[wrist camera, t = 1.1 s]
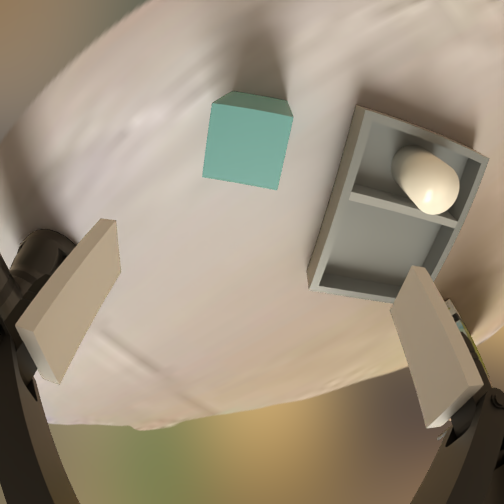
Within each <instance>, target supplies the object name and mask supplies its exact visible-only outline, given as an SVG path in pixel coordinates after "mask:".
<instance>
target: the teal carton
mask: <svg viewBox="0 0 504 504" xmlns="http://www.w3.org/2000/svg"><path fill="white" fill-rule="evenodd" d="M292 122H293V115H292V112H291V109H290V107H289V104H288V102H287V101H286V100H281V99H276V98H271V97H265V96H260V95H254V94H248V93H242V92H235V91H232V92H230V93H228V94H226V95H225V96H223V97H221V98H220V99H218V100H216V101H215V102H213V103H212V108H211V114H210V121H209V128H208V136H207V143H206V151H205V159H204V167H203V175H202V177H205V178H211V179H217V180H223V181H229V182H235V183H241V184H246V185H252V186H257V187H262V188H268V189H273V190H277V189H278V185H279V180H280V176H281V171H282V167H283V162H284V158H285V153H286V149H287V144H288V140H289V135H290V131H291V126H292Z"/></svg>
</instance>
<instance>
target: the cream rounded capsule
mask: <svg viewBox="0 0 504 504" xmlns="http://www.w3.org/2000/svg"><path fill="white" fill-rule="evenodd" d="M391 173H392V176H393V178H394V180H395V181H396V183H397V184H398V185H399V186H400V187H401V188H402V189H403V191H404V192H405V193H406V194H407V195H408V196H409V197H410V199H411V200H412V201H413V202H414V203H415V205H416V206H417V207H418V208H419V209H420V210H421V211H422V212H424V213H427V214H431V215H435V214H440V213H443V212H445V211H446V210H448V209H449V208H450V207H451V206H452V205H453V203H454V202H455V200H456V198H457V196H458V193H459V178H458V176H457V174H456V172H455V171H454V169H453V168H452V167H450V166H449V165H447V164H446V163H445V162H443V161H442V160H440V159H439V158H438V157H436V156H435V155H433V154H432V153H430V152H429V151H428V150H426V149H425V148H423V147H421V146H419V145H407V146H404V147H402V148H401V149H400V150H398V152H397V153H396V154H395V156H394V157H393V160H392V163H391Z"/></svg>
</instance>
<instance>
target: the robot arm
mask: <svg viewBox="0 0 504 504" xmlns="http://www.w3.org/2000/svg"><path fill="white" fill-rule="evenodd" d="M120 273H121V266H120V257H119V248H118V237H117V226H116V220H109V219H100V220H99V221H98V222H97V223H96V224H95V225H94V226H93V228H92V229H91V230H90V231H89V232H88V233H87V234H86V235H85V237H84V238H83V239H82V240H81V241H80V242H79V243H78V245H77V246H76V245H74V244H73V243H72V242H71V241H70V240H69V239H67V238H66V237H64V236H63V235H61V234H59V233H57V232H55V231H51V230H46V229H41V230H36V231H34V232H32V233H31V234H30V235H29V236H28V237H27V238H26V239H25V240H24V241H23V242H22V243H21V245H20V247H19V249H18V252H17V255H16V256H15V258H14V261H13V263H12V265H11V268H10V270H9V269H8V267H7V265H6V263H5V261H4V260H3V258H2V256H1V254H0V484H1V487H2V490H3V493H4V496H5V499H6V502H7V504H80V503H79V501H78V499H77V497H76V495H75V493H74V490H73V488H72V486H71V484H70V482H69V479H68V477H67V474H66V472H65V470H64V467H63V465H62V462H61V460H60V457H59V455H58V452H57V449H56V447H55V444H54V441H53V438H52V435H51V432H50V429H49V426H48V423H47V420H46V417H45V413H44V410H43V406H42V403H41V399H40V396H39V392H38V388H37V384H36V381H35V379H34V377H33V376H34V374H35V372H36V370H37V369H38V371H39V373H40V375H41V376H42V378H43V379H45V380H48V381H50V382H53V383H56V384H59V385H60V383H61V381H62V379H63V377H64V375H65V373H66V371H67V369H68V367H69V365H70V363H71V361H72V359H73V357H74V355H75V353H76V351H77V349H78V347H79V345H80V344H81V342H82V340H83V338H84V336H85V334H86V332H87V330H88V329H89V327H90V325H91V323H92V321H93V319H94V318H95V316H96V314H97V312H98V311H99V309H100V307H101V305H102V304H103V302H104V300H105V298H106V297H107V295H108V293H109V291H110V290H111V288H112V286H113V285H114V283H115V281H116V280H117V278H118V276H119V275H120ZM390 313H391V315H392V318H393V321H394V324H395V326H396V329H397V332H398V335H399V338H400V341H401V344H402V347H403V350H404V353H405V356H406V359H407V362H408V365H409V369H410V372H411V375H412V378H413V382H414V385H415V388H416V392H417V395H418V399H419V403H420V406H421V410H422V414H423V417H424V421H425V424H426V428H432V427H440V426H442V425H443V424H444V423H446V422H447V420H449V419H450V418H451V421H452V425H451V426H450V427H449V428H448V429H446V430H445V431H444V432H443V433H442V434H441V435H440V436H439V437H438V438H437V440H440V439H441V438H442V437H443V436H445V437H444V439H443V441H442V444H441V446H440V448H439V450H438V452H437V454H436V457H435V459H434V461H433V462H432V465H431V467H430V469H429V470H428V472H427V474H426V476H425V478H424V480H423V482H422V484H421V485H420V487H419V489H418V491H417V493H416V494H415V496H414V498H413V500H412V501H411V503H410V504H504V393H503V392H502V391H501V390H500V389H497V388H492V387H491V384H490V382H489V380H488V377H487V375H486V373H485V370H484V368H483V366H482V364H481V362H480V360H479V357H478V355H477V353H476V352H475V349H474V347H473V345H472V343H471V341H470V339H469V338H468V337H467V336H466V335H465V334H464V333H463V332H460V331H459V329H458V327H457V325H456V323H455V321H454V319H453V317H452V315H451V313H450V311H449V309H448V307H447V306H446V304H445V302H444V300H443V298H442V296H441V295H440V293H439V291H438V289H437V287H436V286H435V284H434V282H433V280H432V279H431V277H430V275H429V273H428V272H427V270H426V268H425V267H419V266H413V265H412V266H411V268H410V270H409V272H408V275H407V277H406V279H405V281H404V283H403V285H402V287H401V289H400V291H399V293H398V295H397V297H396V299H395V301H394V303H393V305H392V307H391V309H390Z"/></svg>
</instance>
